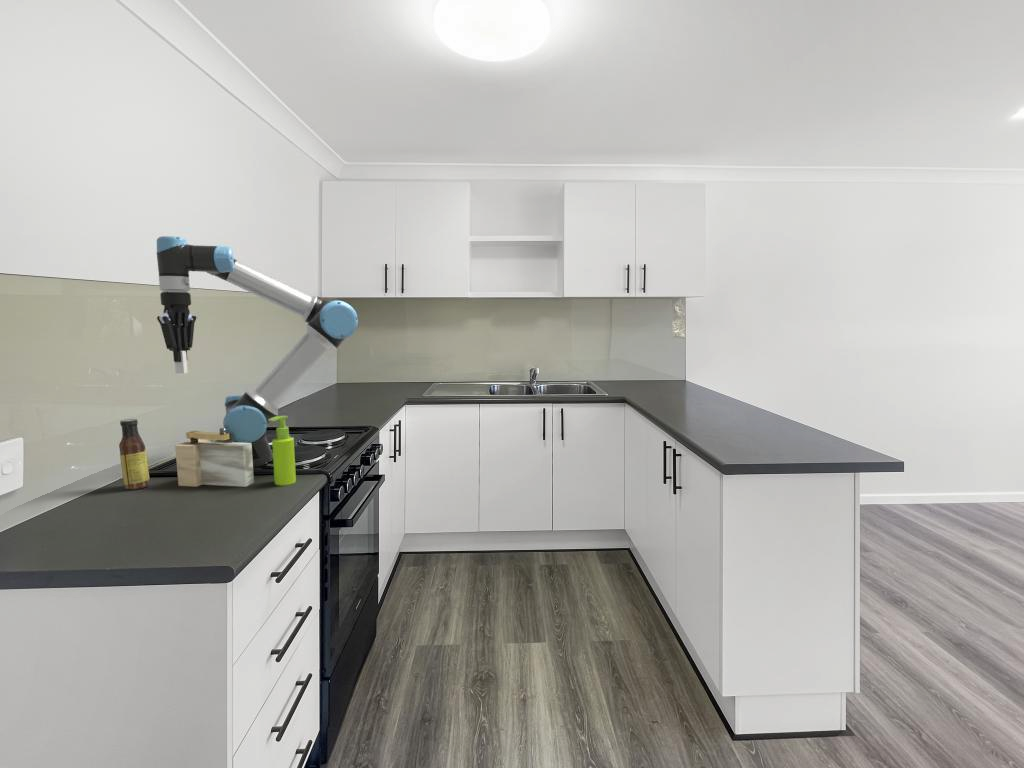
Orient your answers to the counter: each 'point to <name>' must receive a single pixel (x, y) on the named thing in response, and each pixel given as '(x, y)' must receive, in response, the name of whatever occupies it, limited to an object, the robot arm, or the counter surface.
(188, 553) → the counter surface
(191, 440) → the door frame
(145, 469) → the sauce bottle
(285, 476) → the soap dispenser
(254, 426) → the robot arm
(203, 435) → the swing bar
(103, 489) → the counter surface
